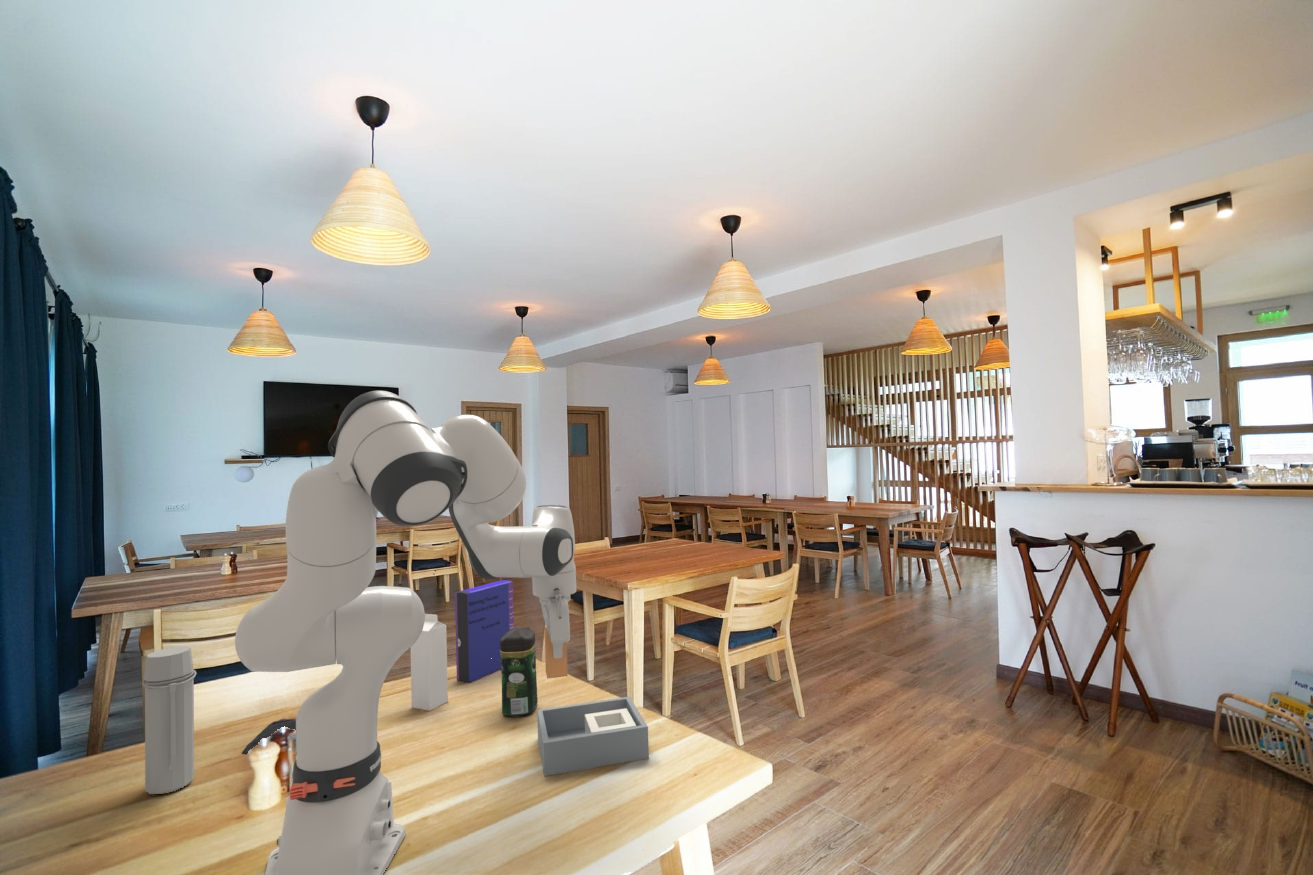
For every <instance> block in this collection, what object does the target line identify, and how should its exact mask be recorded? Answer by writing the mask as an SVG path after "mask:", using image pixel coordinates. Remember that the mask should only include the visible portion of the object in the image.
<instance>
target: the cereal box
mask: <svg viewBox="0 0 1313 875" xmlns="http://www.w3.org/2000/svg"><path fill="white" fill-rule="evenodd" d="M514 606H515V605H514V581H511V580H506V579H505V580H497V581H495V582H489V583H486V584H483V585H478V586H474V587H471V588H467V589H462V590H459V591H456V592H454V616H455V654H456V655H455V657H456V658H455V659H456V660H455V662H456V681H457V682H461V683H466V684H471V683H474V682H476V681H478V680H480V679H482V678H485V677H487V676H490V675H492V674H494V673H496V672H499V671H500V670H501V655H500V640H501V638H502V637H503V636H504V635H505V634H506V633H507V632H509V631H510V630H512V629H513V628H515V616H514V615H515V614H514V613H515V610H514ZM491 658H492V659H491Z"/></svg>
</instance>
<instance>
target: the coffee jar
mask: <svg viewBox="0 0 1313 875" xmlns="http://www.w3.org/2000/svg"><path fill="white" fill-rule="evenodd" d="M536 651H537V650H536V635H535V631H533V630H532V629H531V628H529V627H527V626H526V627H514V628H513V629H512V630H510V631H509V632H507V633H506V634H505V635H504V636H503V637H502V638H501V640H500V655H501V672H500V673H501V712H502V714H503V715H504V716H508V717H512V718H514V717H518V718H519V717H522V716H525V715H530V714H532V713H533V712H534V711H535V709H536V707H537V706H538V684H537V683H538V682H537V680H538V679H537V660H536V659H537V657H536V654H537V653H536Z"/></svg>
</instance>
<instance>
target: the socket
mask: <svg viewBox="0 0 1313 875" xmlns="http://www.w3.org/2000/svg"><path fill="white" fill-rule="evenodd" d="M634 726H636V724H635V722H634V721H633V719H632V717H631V715H630V714H629V712H628V710H627V708H625V709H618V710H612V711H605V712H598V713H591V714H585V734H590V733H596V732H602V731H609V730H615V729H621V728H628V727H634Z"/></svg>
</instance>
